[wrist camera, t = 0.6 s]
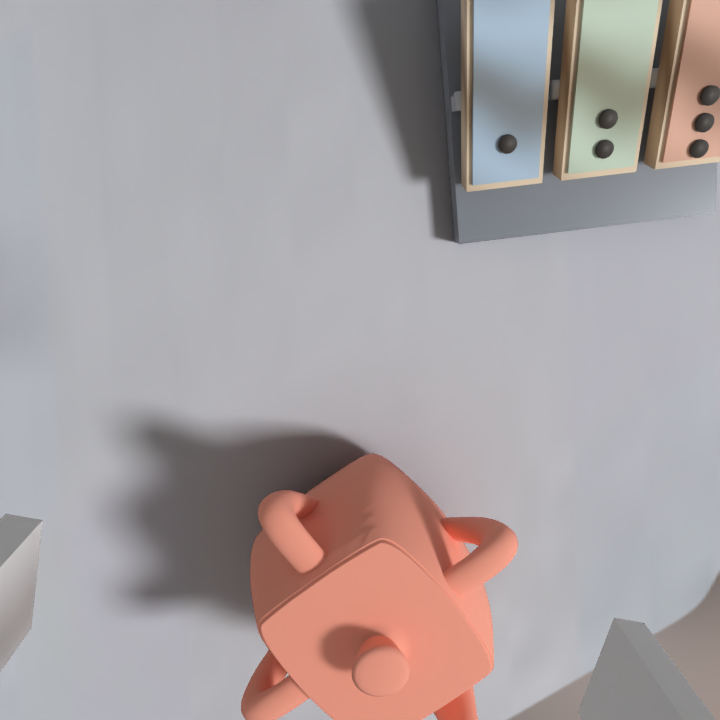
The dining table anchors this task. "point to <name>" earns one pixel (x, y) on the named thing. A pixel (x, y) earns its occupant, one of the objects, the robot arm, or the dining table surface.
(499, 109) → the tile
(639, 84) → the tile
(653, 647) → the robot arm
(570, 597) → the dining table surface
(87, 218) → the dining table surface
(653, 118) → the tile
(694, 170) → the board
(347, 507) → the teapot
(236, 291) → the dining table surface
